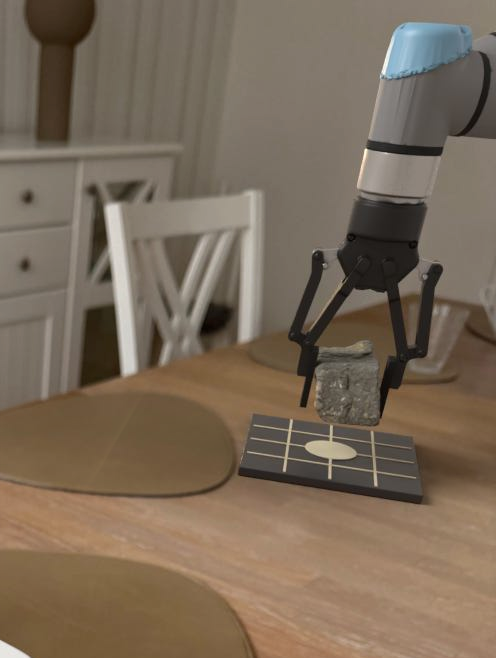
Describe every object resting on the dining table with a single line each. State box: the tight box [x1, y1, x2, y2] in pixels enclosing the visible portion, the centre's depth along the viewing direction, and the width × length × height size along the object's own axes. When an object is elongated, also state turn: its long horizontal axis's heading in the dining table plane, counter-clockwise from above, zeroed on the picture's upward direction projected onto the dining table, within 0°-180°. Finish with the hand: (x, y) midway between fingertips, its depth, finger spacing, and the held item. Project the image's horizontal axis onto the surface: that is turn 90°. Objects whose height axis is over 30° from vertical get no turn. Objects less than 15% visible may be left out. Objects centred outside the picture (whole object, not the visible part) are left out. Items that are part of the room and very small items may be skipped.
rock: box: [313, 339, 381, 427], centre depth 113 cm, size 17×7×10 cm
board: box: [237, 412, 424, 505], centre depth 117 cm, size 20×20×1 cm
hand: (340, 409), depth 114 cm, fingers closed on rock, 8 cm apart
